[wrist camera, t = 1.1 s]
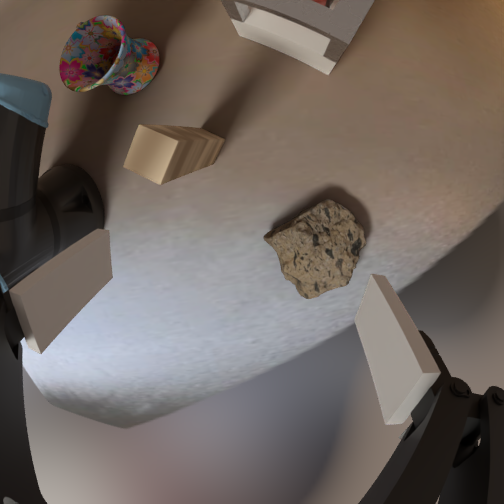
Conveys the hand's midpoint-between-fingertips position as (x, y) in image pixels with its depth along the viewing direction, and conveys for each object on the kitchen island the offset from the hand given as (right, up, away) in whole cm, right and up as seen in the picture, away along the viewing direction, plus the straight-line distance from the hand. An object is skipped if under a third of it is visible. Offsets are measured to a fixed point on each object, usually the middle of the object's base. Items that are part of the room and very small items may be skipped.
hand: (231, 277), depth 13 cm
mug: (-16, +27, +17) cm, 36 cm away
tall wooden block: (-5, +14, +20) cm, 25 cm away
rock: (+10, +2, +24) cm, 26 cm away
